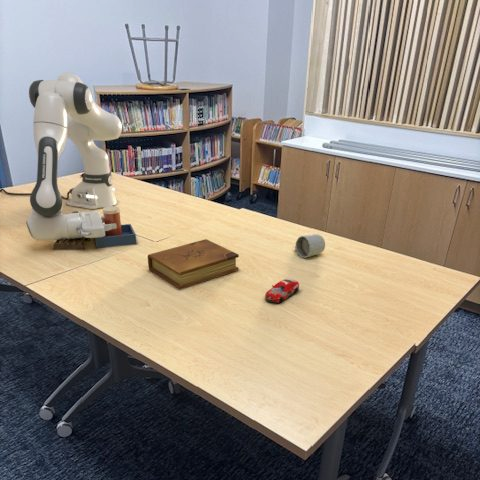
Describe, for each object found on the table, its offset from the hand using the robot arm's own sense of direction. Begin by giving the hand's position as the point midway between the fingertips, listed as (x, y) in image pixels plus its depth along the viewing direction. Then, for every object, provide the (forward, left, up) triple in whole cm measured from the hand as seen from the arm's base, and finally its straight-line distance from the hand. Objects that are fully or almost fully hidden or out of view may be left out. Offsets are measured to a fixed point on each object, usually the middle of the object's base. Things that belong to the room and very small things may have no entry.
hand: (115, 222), depth 177 cm
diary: (+36, -19, -7) cm, 42 cm away
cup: (-1, 0, -6) cm, 6 cm away
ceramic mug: (+71, +5, -7) cm, 72 cm away
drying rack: (-14, -8, -7) cm, 18 cm away
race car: (+67, -30, -7) cm, 74 cm away
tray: (-1, 0, -7) cm, 7 cm away
